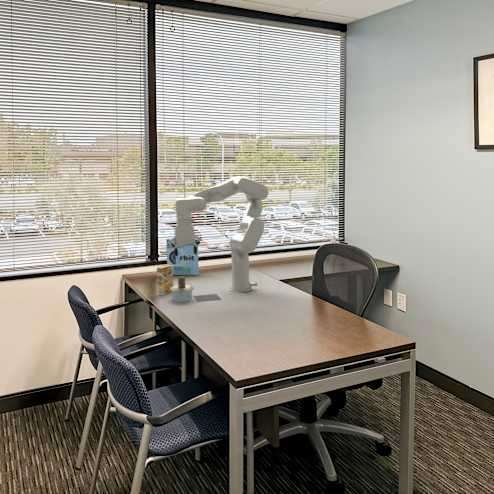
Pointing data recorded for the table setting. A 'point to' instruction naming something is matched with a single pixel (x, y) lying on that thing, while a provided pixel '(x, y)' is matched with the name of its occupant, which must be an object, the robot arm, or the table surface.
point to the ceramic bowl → (182, 296)
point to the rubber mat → (207, 297)
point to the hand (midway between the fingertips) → (185, 254)
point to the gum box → (183, 259)
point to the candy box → (164, 279)
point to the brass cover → (181, 286)
